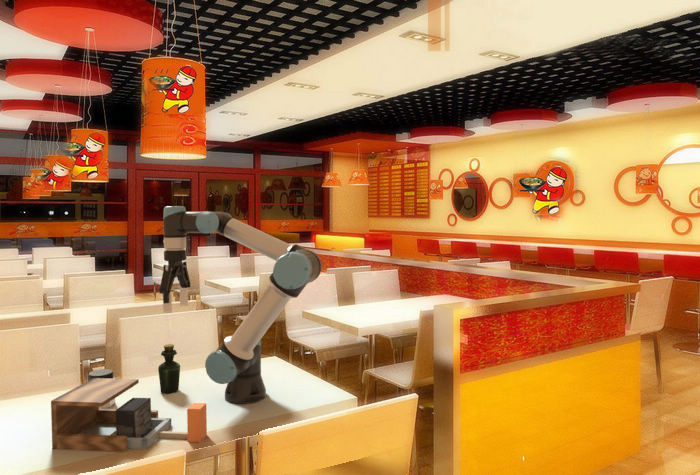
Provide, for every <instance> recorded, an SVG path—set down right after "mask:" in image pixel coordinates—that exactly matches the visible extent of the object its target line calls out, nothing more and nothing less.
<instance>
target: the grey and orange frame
mask: <svg viewBox="0 0 700 475" xmlns="http://www.w3.org/2000/svg"><path fill="white" fill-rule="evenodd" d="M186 413H187V414H186V419H187V426H186V427H187V428H186V429H187V431H170V430H169V431H168V429H170V428H171V427H172V417H158V418H151V423H152V430H151V431H150V432H149V433H148V434H147V435H145V436H144V437H143V438H133V437H127V449H137V450H138V449H141V450H147V449H148V448H149V447H151V445H153V443H155V442H156V441H157V440H158V439H159V438H161V439H181V440H182V439H183V440H187V442H188V443H189V442H192V443H201V442H202V441H203V440H204V439H205V438H206V436H207V433H208V428H207V426H208V424H207V422H208V421H207V420H208V419H207V403H206V402H193V403H192V404H190V406H189V407H187V410H186ZM153 428H154V429H153ZM110 435H113V436H116V430H114V431H113V432H112V433H110ZM155 440H156V441H155ZM154 441H155V442H154Z"/></svg>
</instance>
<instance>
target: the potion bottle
mask: <svg viewBox="0 0 700 475" xmlns="http://www.w3.org/2000/svg"><path fill="white" fill-rule="evenodd" d="M174 346H175V344H172V343H168V344H164V345H163V349H164V350H162V351H161V353H160V356H161V357H163V358H164V361H163V362H162V363H160V364H159V366H158V367H157V370H158V377H159V378H158V379H159V387H160V393H161V394H163V395H171V394H176V393H177V392H178V391H179V390H180V378H181V377H180V376H181V374H180V373H181V365H180V363H179V362H177V361H174V358H175V356H176V355H177V354H178V353H177V350H176V349H174V348H175V347H174Z"/></svg>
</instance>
